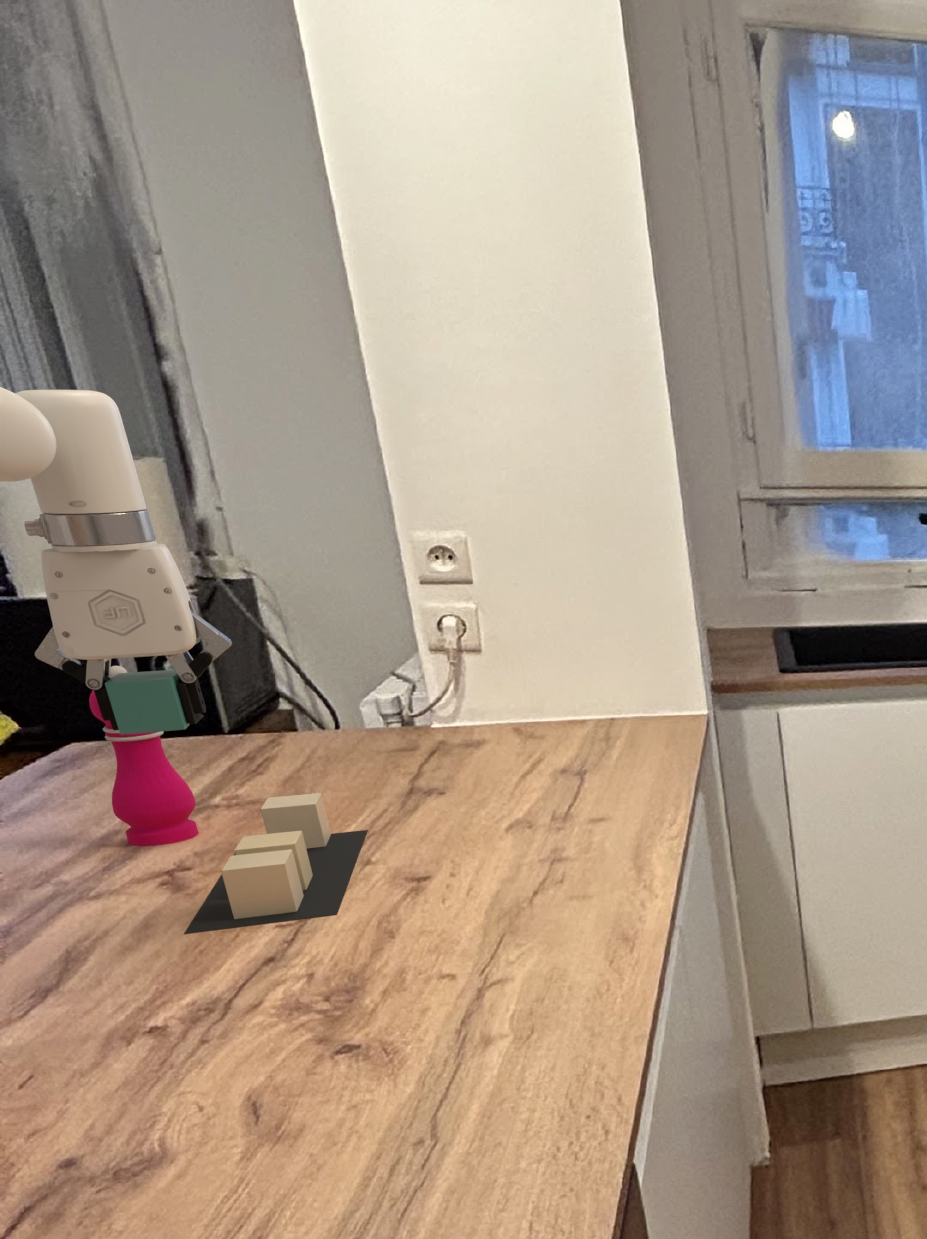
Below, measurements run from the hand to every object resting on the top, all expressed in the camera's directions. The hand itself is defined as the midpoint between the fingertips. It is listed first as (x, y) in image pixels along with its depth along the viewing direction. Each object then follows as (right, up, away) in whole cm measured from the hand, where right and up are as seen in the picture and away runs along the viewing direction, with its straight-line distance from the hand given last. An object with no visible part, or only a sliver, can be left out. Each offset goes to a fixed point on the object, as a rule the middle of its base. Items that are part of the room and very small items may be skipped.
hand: (158, 722), depth 132 cm
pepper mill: (-18, -11, +22) cm, 30 cm away
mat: (+5, -15, +11) cm, 19 cm away
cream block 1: (-1, -11, +21) cm, 23 cm away
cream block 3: (+10, -18, +2) cm, 21 cm away
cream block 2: (+6, -16, +8) cm, 19 cm away
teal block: (0, 0, 0) cm, 0 cm away
